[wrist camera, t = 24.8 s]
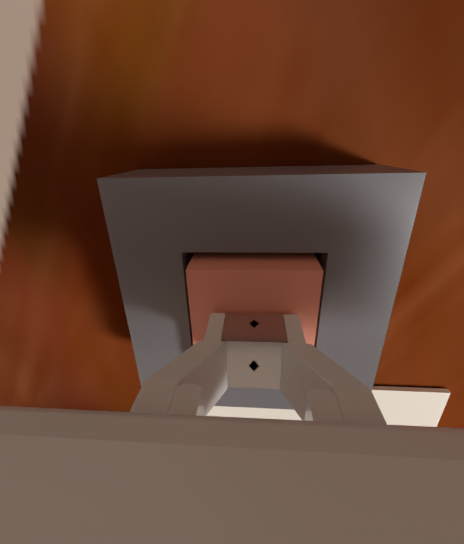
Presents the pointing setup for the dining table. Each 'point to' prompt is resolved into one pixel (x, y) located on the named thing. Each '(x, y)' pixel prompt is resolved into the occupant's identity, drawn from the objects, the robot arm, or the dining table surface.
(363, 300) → the button housing
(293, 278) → the button
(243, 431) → the robot arm
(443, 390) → the paper sheet
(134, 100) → the dining table surface
